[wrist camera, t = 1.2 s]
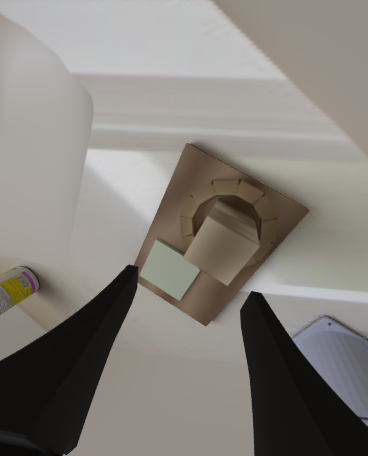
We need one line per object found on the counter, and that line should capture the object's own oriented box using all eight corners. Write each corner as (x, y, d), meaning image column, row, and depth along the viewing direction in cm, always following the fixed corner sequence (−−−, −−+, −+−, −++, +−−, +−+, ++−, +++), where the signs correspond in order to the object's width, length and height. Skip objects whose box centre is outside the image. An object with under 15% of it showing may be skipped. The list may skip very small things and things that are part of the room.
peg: (254, 218, 19) (259, 246, 13) (231, 248, 21) (226, 286, 15) (218, 197, 20) (207, 216, 13) (199, 229, 22) (182, 258, 15)
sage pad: (202, 265, 23) (202, 267, 23) (180, 298, 26) (179, 300, 26) (157, 238, 24) (155, 239, 23) (140, 273, 27) (139, 275, 27)
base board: (305, 207, 18) (315, 214, 16) (207, 320, 28) (204, 335, 26) (189, 143, 20) (182, 141, 17) (133, 272, 29) (123, 282, 27)
